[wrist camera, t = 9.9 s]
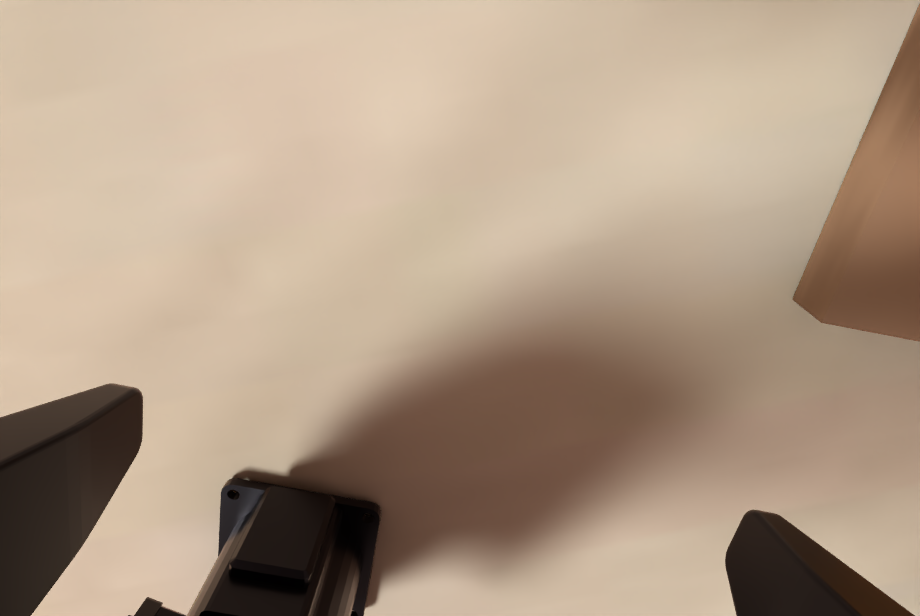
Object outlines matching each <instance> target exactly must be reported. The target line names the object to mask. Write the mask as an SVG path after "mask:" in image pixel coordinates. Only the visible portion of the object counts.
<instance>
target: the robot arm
mask: <svg viewBox="0 0 920 616" xmlns="http://www.w3.org/2000/svg"><path fill="white" fill-rule="evenodd" d="M142 431H143V396H142V393H141V391H140V390H139V389H137V388H134V387H129V386H124V385H119V384H106V385H103V386H100V387H96V388H93V389H90V390H87V391H84V392H80V393H77V394H74V395H71V396H68V397H64V398H61V399H58V400H55V401H52V402H48V403H45V404H42V405H39V406H36V407H32V408H29V409H26V410H23V411H20V412H16V413H13V414H10V415H7V416H4V417H0V616H31V615H32V613H33V612H34V611H35V609H36V608H37V607H38V605H39V604H40V603H41V601H42V600H43V599H44V597H45V596H46V595H47V593H48V592H49V591H50V589H51V588H52V586H53V585H54V584H55V582H56V581H57V580H58V578H59V577H60V576H61V574H62V573H63V572H64V570H65V569H66V568H67V566H68V565H69V564H70V562H71V561H72V560H73V558H74V557H75V555H76V554H77V553H78V551H79V550H80V548H81V547H82V546H83V544H84V542H85V541H86V539H87V538H88V536H89V534H90V533H91V531H92V530H93V528H94V526H95V525H96V523H97V521H98V519H99V518H100V516H101V514H102V513H103V511H104V509H105V508H106V506H107V504H108V503H109V501H110V499H111V498H112V496H113V494H114V492H115V491H116V489H117V487H118V486H119V484H120V482H121V481H122V479H123V477H124V476H125V474H126V472H127V470H128V469H129V467H130V465H131V464H132V462H133V460H134V459H135V457H136V455H137V453H138V451H139V449H140V446H141V442H142ZM232 490H236V491H237V492H238V493H235V492H233V491H232ZM365 513H369V514H371V515H372V516H366V515H365ZM380 519H381V509H380V507H379V506H378V505H377V504H375V503H372V502H368V501H362V500H357V499H351V498H345V497H340V496H334V495H328V494H323V493H317V492H311V491H306V490H300V489H294V488H289V487H283V486H277V485H272V484H266V483H260V482H255V481H249V480H243V479H236V478H233V479H230V480H228V481H227V482H226V484H225V485H224V487H223V488H222V491H221V506H220V529H219V552H218V558H217V560H216V562H215V564H214V566H213V568H212V570H211V572H210V573H209V575H208V577H207V579H206V581H205V583H204V585H203V587H202V588H201V590H200V592H199V594H198V596H197V598H196V600H195V602H194V603H193V605H192V607H191V609H190V611H189V613H188V615H187V616H363V615H364V611H365V605H366V600H367V594H368V588H369V582H370V577H371V571H372V565H373V559H374V554H375V548H376V542H377V536H378V531H379V525H380ZM725 564H726V571H727V575H728V580H729V584H730V589H731V593H732V597H733V602H734V606H735V611H736V615H737V616H914V615H913V614H912V613H910V612H909V611H908V610H906V609H905V608H904V607H902V606H901V605H900V604H898V603H897V602H896V601H894V600H893V599H892V598H890V597H889V596H888V595H886V594H885V593H884V592H882V591H881V590H879V589H878V588H877V587H875V586H874V585H873V584H871V583H870V582H869V581H867V580H866V579H865V578H863V577H862V576H861V575H859V574H858V573H857V572H855V571H854V570H853V569H851V568H850V567H849V566H847V565H846V564H844V563H843V562H842V561H840V560H839V559H838V558H836V557H835V556H834V555H832V554H831V553H830V552H828V551H827V550H826V549H824V548H823V547H822V546H820V545H819V544H818V543H816V542H815V541H814V540H812V539H811V538H809V537H808V536H807V535H805V534H804V533H803V532H801V531H800V530H799V529H797V528H796V527H795V526H793V525H792V524H791V523H789V522H788V521H787V520H785V519H784V518H783V517H781V516H780V515H777V514H774V513H769V512H764V511H759V510H750V511H748V512H747V513H746V514H745V515H744V516H743V518H742V520H741V522H740V524H739V526H738V528H737V531H736V533H735V535H734V537H733V539H732V541H731V543H730V545H729V547H728V549H727V552H726V558H725ZM162 604H163V603H162V602H159V601H156V600H154V599H151V598H149V597H147V598H146V599H145V601H144V602H143V604H142V605H141V607H140V608H139V609H138V611H137V612H136V614H135V615H134V616H186V615H184V614H181V613H179V612H176V611H173V610H171V609H168V608H166V607H163V606H162ZM352 610H353V611H352ZM128 616H130V615H128Z"/></svg>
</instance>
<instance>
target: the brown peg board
mask: <svg viewBox="0 0 920 616" xmlns="http://www.w3.org/2000/svg"><path fill="white" fill-rule="evenodd" d="M793 300H794V301H795V302H796V303H798V304H799V305H800V306H801V307H803V308H804V309H805V310H806V311H808V312H809V313H810V314H811V315H813V316H814V317H815V318H816V319H818V320H819V321H820V322H821V323H826V324H831V325H836V326H842V327H847V328H852V329H857V330H862V331H868V332H873V333H878V334H883V335H889V336H894V337H899V338H904V339H909V340H915V341H920V4H919V7H918V9H917V11H916V14H915V16H914V18H913V20H912V23H911V25H910V27H909V30H908V32H907V34H906V37H905V39H904V41H903V44H902V46H901V48H900V51H899V53H898V55H897V58H896V60H895V62H894V65H893V67H892V69H891V72H890V74H889V76H888V79H887V81H886V83H885V85H884V88H883V90H882V92H881V95H880V97H879V99H878V102H877V104H876V106H875V109H874V111H873V113H872V116H871V118H870V120H869V123H868V125H867V127H866V130H865V132H864V134H863V137H862V139H861V141H860V143H859V146H858V148H857V150H856V153H855V155H854V157H853V160H852V162H851V164H850V167H849V169H848V171H847V174H846V176H845V178H844V181H843V183H842V185H841V188H840V190H839V192H838V195H837V197H836V199H835V202H834V204H833V206H832V208H831V211H830V213H829V215H828V218H827V220H826V222H825V225H824V227H823V229H822V232H821V234H820V236H819V239H818V241H817V243H816V246H815V248H814V250H813V253H812V255H811V257H810V260H809V262H808V264H807V266H806V269H805V271H804V273H803V276H802V278H801V280H800V283H799V285H798V287H797V290H796V292H795V294H794V297H793Z"/></svg>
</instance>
